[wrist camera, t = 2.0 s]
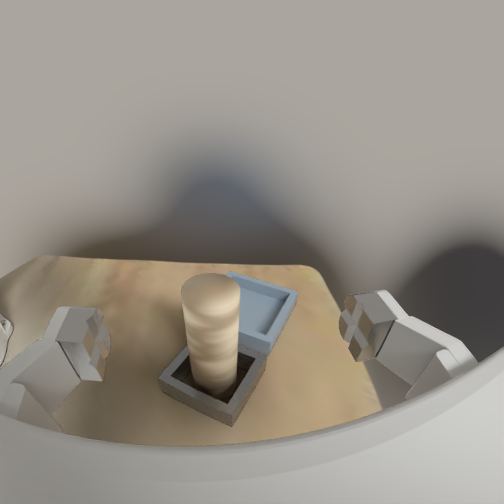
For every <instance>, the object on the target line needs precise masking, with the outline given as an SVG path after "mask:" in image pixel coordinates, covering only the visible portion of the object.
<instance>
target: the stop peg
mask: <svg viewBox="0 0 504 504" xmlns="http://www.w3.org/2000/svg"><path fill="white" fill-rule="evenodd" d="M181 296H182V305H183V314H184V321H185V329H186V336H187V343H188V350H189V357H190V363H191V369H192V375H193V381H194V386H195V389H196V390H198V391H200V392H202V393H205V394H207V395H209V396H211V397H213V398H215V399H217V400H219V399H223V398H226V397H228V396H229V395H231V394H232V393H233V391H234V390H235V387H236V377H237V353H238V330H239V309H240V287H239V285H238V283H237V282H236V281H235V280H233V279H232V278H230V277H228V276H225V275H222V274H216V273H206V274H200V275H196V276H194V277H192V278H190V279H188V280H187V281H186V282H185V283H184V284H183V286H182V288H181Z"/></svg>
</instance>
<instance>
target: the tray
mask: <svg viewBox="0 0 504 504" xmlns="http://www.w3.org/2000/svg"><path fill="white" fill-rule="evenodd" d="M226 276H228V277H230V278H232V279H233V280H235V281H236V282H237V283H238V285H239V287H240V309H239V330H238V344H239V345H242V346H244V347H247V348H250V349H252V350H255V351H258V352H261V353H263V354H266V355H269V354H270V352H271V350H272V348H273V346H274V345H275V343H276V341H277V339H278V337H279V335H280V333H281V332H282V330H283V328H284V326H285V324H286V322H287V320H288V318H289V316H290V314H291V312H292V310H293V308H294V306H295V304H296V301H297V296H298V291H295V290H291V289H288V288H285V287H281V286H278V285H275V284H271V283H268V282H265V281H261V280H258V279H255V278H251V277H248V276H245V275H242V274H238V273H235V272H232V271H229V272H228V274H227V275H226Z"/></svg>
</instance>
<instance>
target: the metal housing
mask: <svg viewBox="0 0 504 504" xmlns="http://www.w3.org/2000/svg"><path fill="white" fill-rule="evenodd" d="M266 361H267V355H265V354H262V353H259V352H257V351H254V350H251V349H248V348H246V347H243V346H241V345H238V353H237V366H238V367H240V368H243V369H245V370H248V372H247V374H246V376H245V377H244V379H243V381H242V382H241V384H240V385H239V387H238V389H237V390H236V392H235V393H234V395H233V397H232V398H231V400H230V401H229V403H228V404H226V403H224V402H222V401H220V400H217V399H215V398H213V397H211V396H209V395H207V394H205V393H202V392H200V391H198V390H196V389H194V388H192V387H190V386H188V385H186V384H185V383H183V382H181V381H182V380H183V379H184V378H185V376H186V375H187V374H188V373H189V372H190V370H191V363H190V357H189V350H188V345H187V346H186V347H185V348H184V349H183V350H182V351H181V353H180V354H179V355H178V356H177V357H176V358H175V359H174V360H173V361H172V363H171V364H170V365H169V366H168V367H167V368H166V369H165V370H164V372H163V373H162V374H161V375H160V376H159V377H158V380H159V383H160V385H161V388H162V391H163V392H164V393H166V394H167V395H169V396H171V397H173V398H174V399H176V400H178V401H180V402H182V403H184V404H185V405H187V406H189V407H191V408H193V409H195V410H197V411H199V412H201V413H203V414H205V415H207V416H209V417H211V418H213V419H216V420H218V421H220V422H222V423H224V424H227V425H229V426H231V427H232V426H233V424H234V423H235V421H236V420H237V418H238V416H239V415H240V413H241V411H242V409H243V408H244V406H245V404H246V403H247V401H248V399H249V397H250V396H251V394H252V392H253V391H254V389H255V387H256V385H257V383H258V382H259V380H260V378H261V376H262V374H263V373H264V371H265V367H266Z"/></svg>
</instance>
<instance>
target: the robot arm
mask: <svg viewBox="0 0 504 504" xmlns="http://www.w3.org/2000/svg"><path fill="white" fill-rule="evenodd" d="M344 305H345V307H346V309H345V310H344V311H343V312H342V313H341V315H340V319H339V330H340V334H341V336H342V338H343V339H344V340H345V341H347V342H349V343H350V344H349V348H348V349H349V350H350V352H351V354H352V356H353V358H354V359H355V361H356V362H359V361H363V360H368V359H372V358H376V359H377V360H378V361H379V362H381V363H382V364H383V365H385V366H386V367H387V368H389V369H390V370H392V371H393V372H394V373H396V374H397V375H398V376H400V377H401V378H403V379H404V380H405V381H406V382H408V383H409V384H410V385H412V388H411V389H410V390H409V392H408V393H407V394H406V400H407V401H405V402H402V403H400V404H397V405H395V406H392V407H390V408H387V409H385V410H382V411H379V412H376V413H374V414H371V415H368V416H365V417H362V418H359V419H355V420H352V421H349V422H346V423H342V424H339V425H335V426H331V427H328V428H324V429H320V430H315V431H311V432H307V433H302V434H297V435H292V436H287V437H282V438H276V439H269V440H263V441H255V442H247V443H238V444H226V445H211V446H152V445H137V444H126V443H117V442H109V441H102V440H96V439H90V438H84V437H79V436H74V435H70V434H65V433H62V428H61V426H60V425H59V424H58V423H57V422H56V421H55V420H54V419H53V418H52V415H53V414H54V413H55V412H56V410H57V409H58V408H59V407H60V405H61V404H62V403H63V402H64V401H65V399H66V398H67V397H68V396H69V395H70V393H71V392H72V391H73V390H74V389H75V387H76V386H77V385H78V384H79V383H80V382H81V380H90V381H103V379H104V374H105V370H106V366H107V365H106V363H105V361H104V359H105V358H106V357H107V356H108V355H109V353H110V348H111V339H110V334H109V331H108V328H107V327H106V326H105V325H104V324H103V323H102V321H103V318H104V317H103V315H102V312H101V310H100V309H99V308H91V307H68V306H60V307H58V308H57V309H56V311H55V313H54V315H53V317H52V319H51V321H50V323H49V325H48V327H47V329H46V331H45V333H44V335H43V337H42V340H39V339H38V340H37V341H35V342H34V343H33V344H31V345H30V346H29V347H27V348H26V349H25V350H24V351H22V352H21V353H20V354H18V355H17V356H16V357H15V358H13V359H12V360H11V361H10V362H8V363H7V364H6V365H5V366H4V367H2V368H1V369H0V504H504V347H503V348H501V349H500V350H498V351H497V352H495V353H494V354H492V355H491V356H489V357H488V358H486V359H485V360H483V361H482V362H480V363H478V362H477V361H476V359H475V358H474V357H473V356H472V354H471V353H470V352H469V350H468V349H467V348H466V347H465V345H464V344H463V343H462V342H461V341H460V340H458V339H456V338H454V337H452V336H450V335H448V334H446V333H444V332H442V331H440V330H438V329H436V328H434V327H432V326H430V325H428V324H426V323H424V322H422V321H420V320H418V319H416V318H414V317H412V316H411V317H409V316H408V315H407V314H406V313H405V311H404V310H403V309H402V308H401V307H400V305H399V304H398V303H397V302H396V301H395V300H394V298H393V297H392V296H391V295H390V294H389V293H388V291H386V290H379V291H373V292H368V293H360V294H352V295H348V296H347V298H346V300H345V303H344ZM12 331H13V326H12V324H11V323H10V322H9V321H8V320H7V319H6V318H4V317H3V316H2V315H1V314H0V365H1V363H2V361H3V359H4V356H5V353H6V348H7V341H8V339H9V337H10V335H11V333H12Z"/></svg>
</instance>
